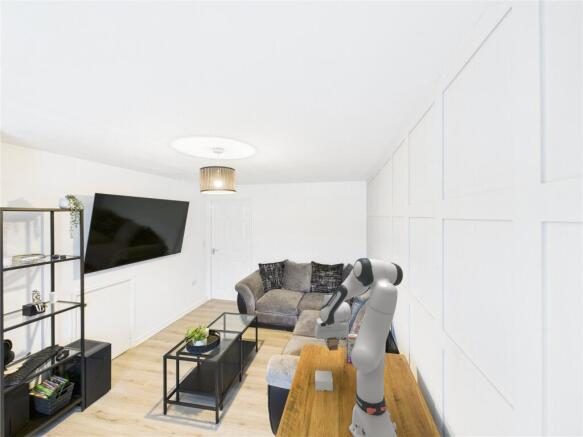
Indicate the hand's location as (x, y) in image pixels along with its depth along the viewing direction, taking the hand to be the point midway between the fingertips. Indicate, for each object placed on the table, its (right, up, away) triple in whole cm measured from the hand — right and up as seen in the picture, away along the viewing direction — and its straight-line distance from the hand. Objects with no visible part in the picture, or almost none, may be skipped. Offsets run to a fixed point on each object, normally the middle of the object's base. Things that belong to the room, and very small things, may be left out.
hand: (332, 344), depth 143 cm
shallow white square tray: (-6, -17, -10) cm, 21 cm away
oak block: (0, -2, 0) cm, 2 cm away
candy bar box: (+17, -17, +12) cm, 26 cm away
